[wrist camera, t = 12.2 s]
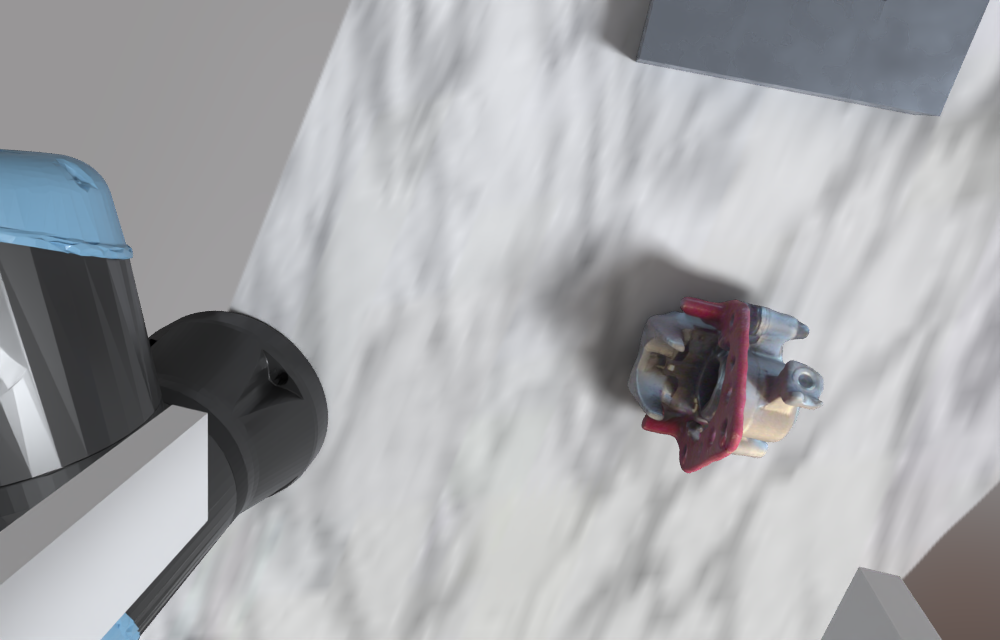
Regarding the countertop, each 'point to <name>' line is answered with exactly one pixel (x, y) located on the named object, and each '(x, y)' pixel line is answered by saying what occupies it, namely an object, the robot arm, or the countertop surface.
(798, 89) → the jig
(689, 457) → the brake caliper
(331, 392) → the countertop surface
